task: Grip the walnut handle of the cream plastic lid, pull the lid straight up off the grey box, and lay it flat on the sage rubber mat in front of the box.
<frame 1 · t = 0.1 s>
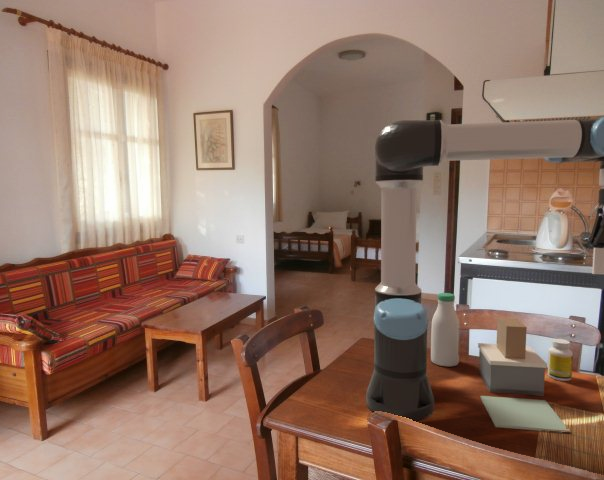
milk bottle: (444, 362, 121), on the table
mat: (521, 414, 91), on the table
lid: (510, 359, 106), point 6 cm above the table, touching box
box: (509, 383, 107), on the table
supplement bottle: (559, 378, 110), on the table
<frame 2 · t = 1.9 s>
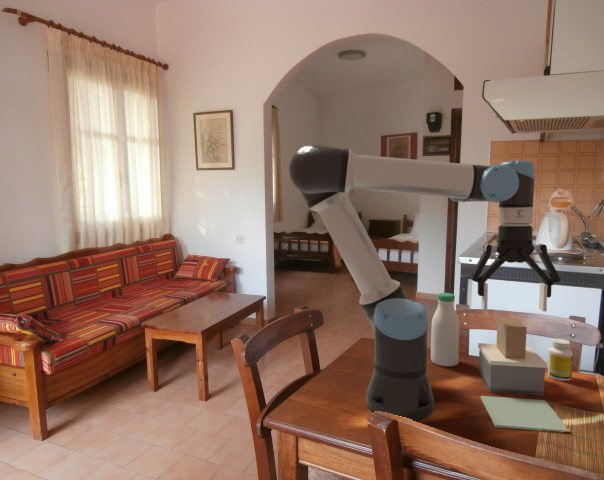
hand: (513, 309, 105), 19 cm above the table, fingers open, 13 cm apart
nothing on the table moved.
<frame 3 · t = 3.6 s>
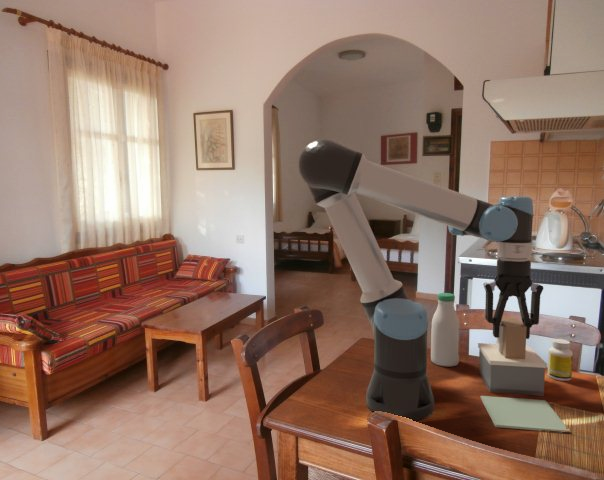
hand: (510, 350, 106), 9 cm above the table, fingers closed on lid, 4 cm apart
lid: (509, 359, 106), point 6 cm above the table, touching box, gripper
everything else where it was.
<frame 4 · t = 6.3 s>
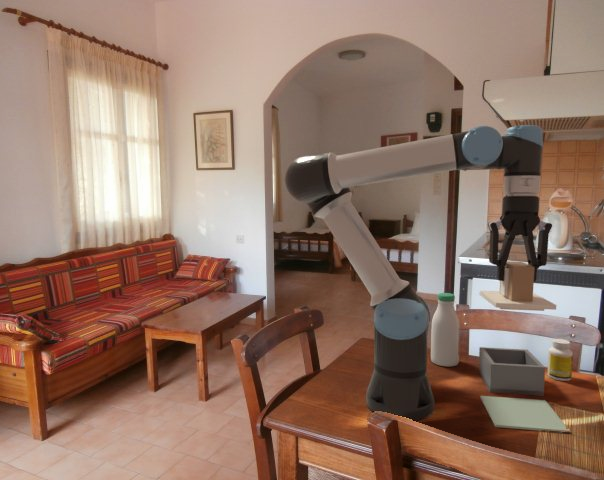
hand: (515, 294, 99), 24 cm above the table, fingers closed on lid, 4 cm apart
lid: (514, 304, 99), point 22 cm above the table, touching gripper
everything else where it was.
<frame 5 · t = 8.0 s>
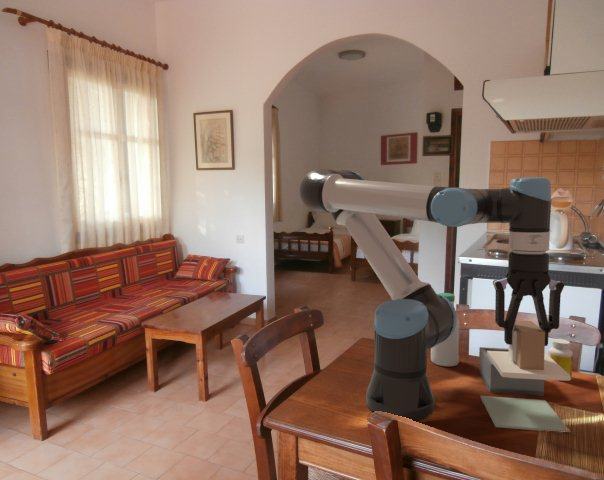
hand: (525, 359, 90), 12 cm above the table, fingers closed on lid, 4 cm apart
lid: (525, 370, 90), point 10 cm above the table, touching gripper
everything else where it was.
when the fingers open (4 cm above the table, at t = 9.4 s): lid drops 1 cm, resting on mat.
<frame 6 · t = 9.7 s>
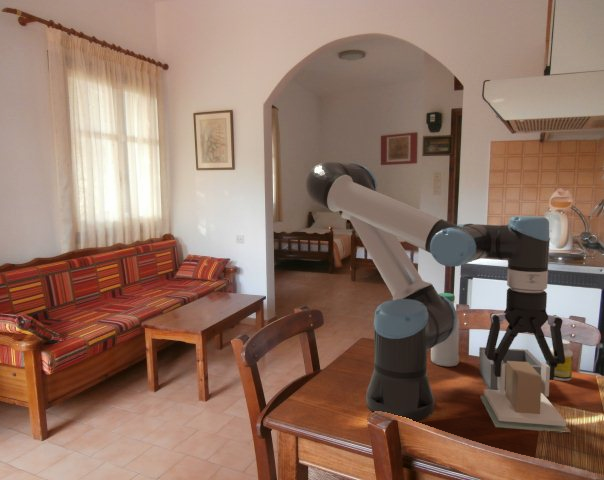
hand: (522, 391, 91), 5 cm above the table, fingers open, 8 cm apart
lid: (521, 411, 91), resting on mat
everything else where it was.
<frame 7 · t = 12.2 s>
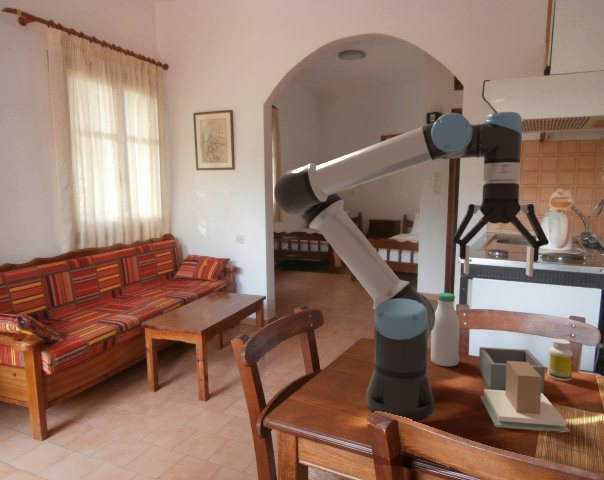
hand: (497, 274, 98), 29 cm above the table, fingers open, 13 cm apart
nothing on the table moved.
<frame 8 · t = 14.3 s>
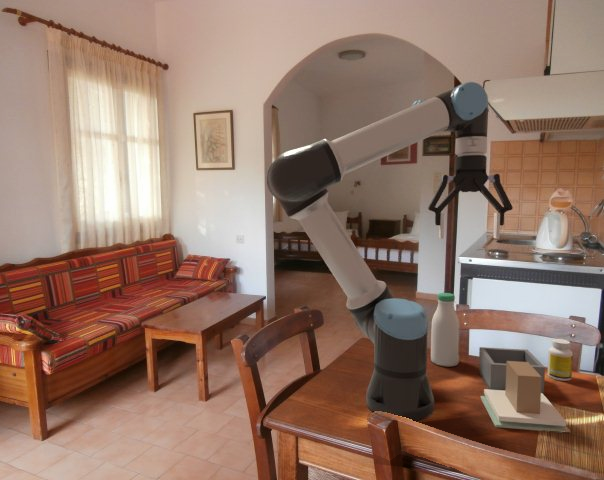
hand: (468, 238, 109), 37 cm above the table, fingers open, 13 cm apart
nothing on the table moved.
at the end: lid inside the target area on the mat (0.0 cm from its centre), point 0.5 cm above the mat's base; lid tilted 0°; the gripper is holding nothing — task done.
